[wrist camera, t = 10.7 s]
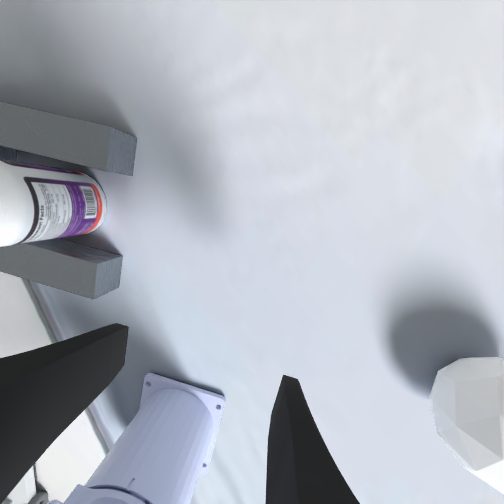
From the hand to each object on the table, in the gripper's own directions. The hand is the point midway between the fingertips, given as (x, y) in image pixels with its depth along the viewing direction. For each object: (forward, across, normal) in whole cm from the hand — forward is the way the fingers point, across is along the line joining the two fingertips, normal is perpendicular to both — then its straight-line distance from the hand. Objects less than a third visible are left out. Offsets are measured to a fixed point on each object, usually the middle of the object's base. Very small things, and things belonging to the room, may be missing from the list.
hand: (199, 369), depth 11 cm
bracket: (+10, +18, -3) cm, 21 cm away
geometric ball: (+11, -19, +3) cm, 22 cm away
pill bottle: (+11, +16, -4) cm, 19 cm away
